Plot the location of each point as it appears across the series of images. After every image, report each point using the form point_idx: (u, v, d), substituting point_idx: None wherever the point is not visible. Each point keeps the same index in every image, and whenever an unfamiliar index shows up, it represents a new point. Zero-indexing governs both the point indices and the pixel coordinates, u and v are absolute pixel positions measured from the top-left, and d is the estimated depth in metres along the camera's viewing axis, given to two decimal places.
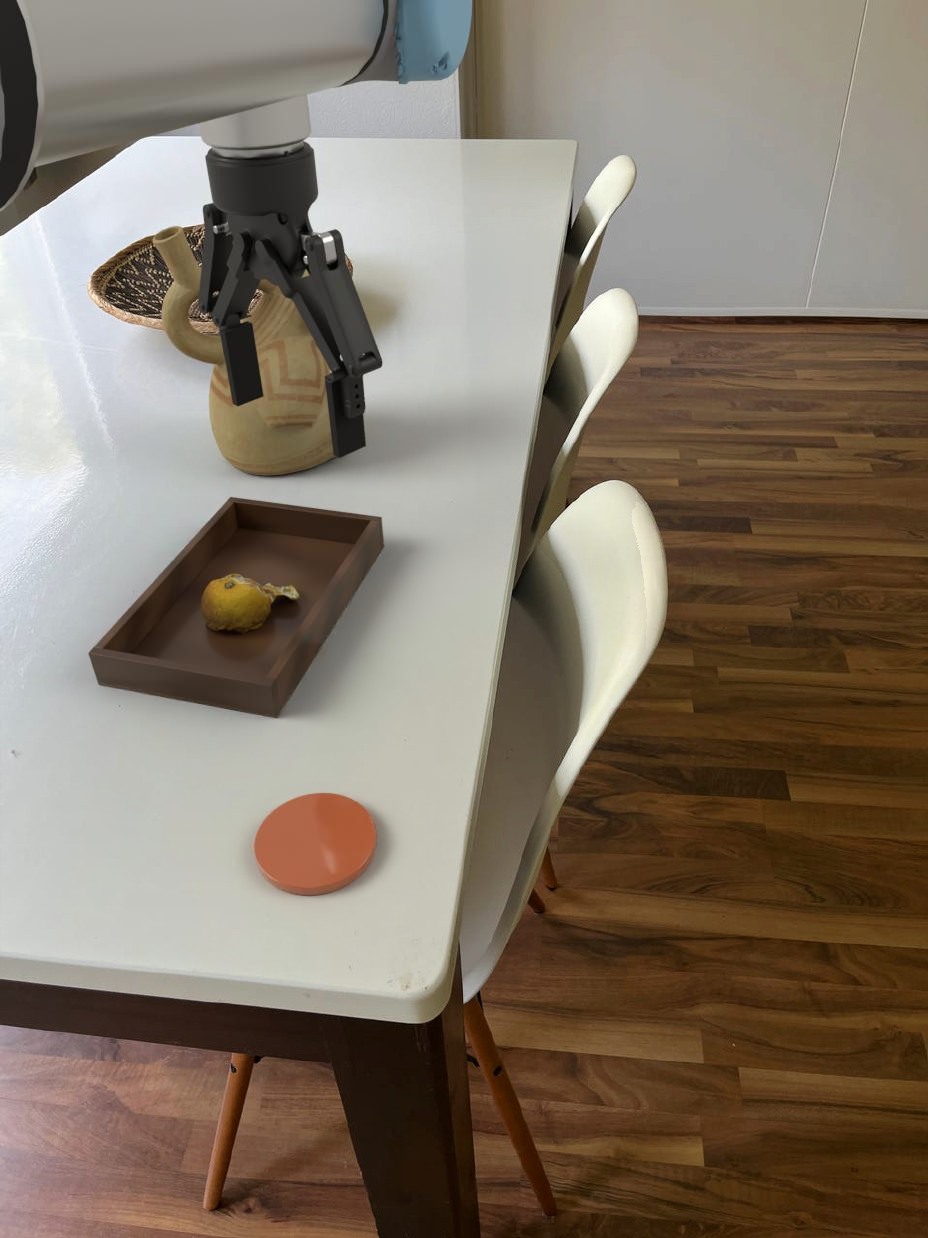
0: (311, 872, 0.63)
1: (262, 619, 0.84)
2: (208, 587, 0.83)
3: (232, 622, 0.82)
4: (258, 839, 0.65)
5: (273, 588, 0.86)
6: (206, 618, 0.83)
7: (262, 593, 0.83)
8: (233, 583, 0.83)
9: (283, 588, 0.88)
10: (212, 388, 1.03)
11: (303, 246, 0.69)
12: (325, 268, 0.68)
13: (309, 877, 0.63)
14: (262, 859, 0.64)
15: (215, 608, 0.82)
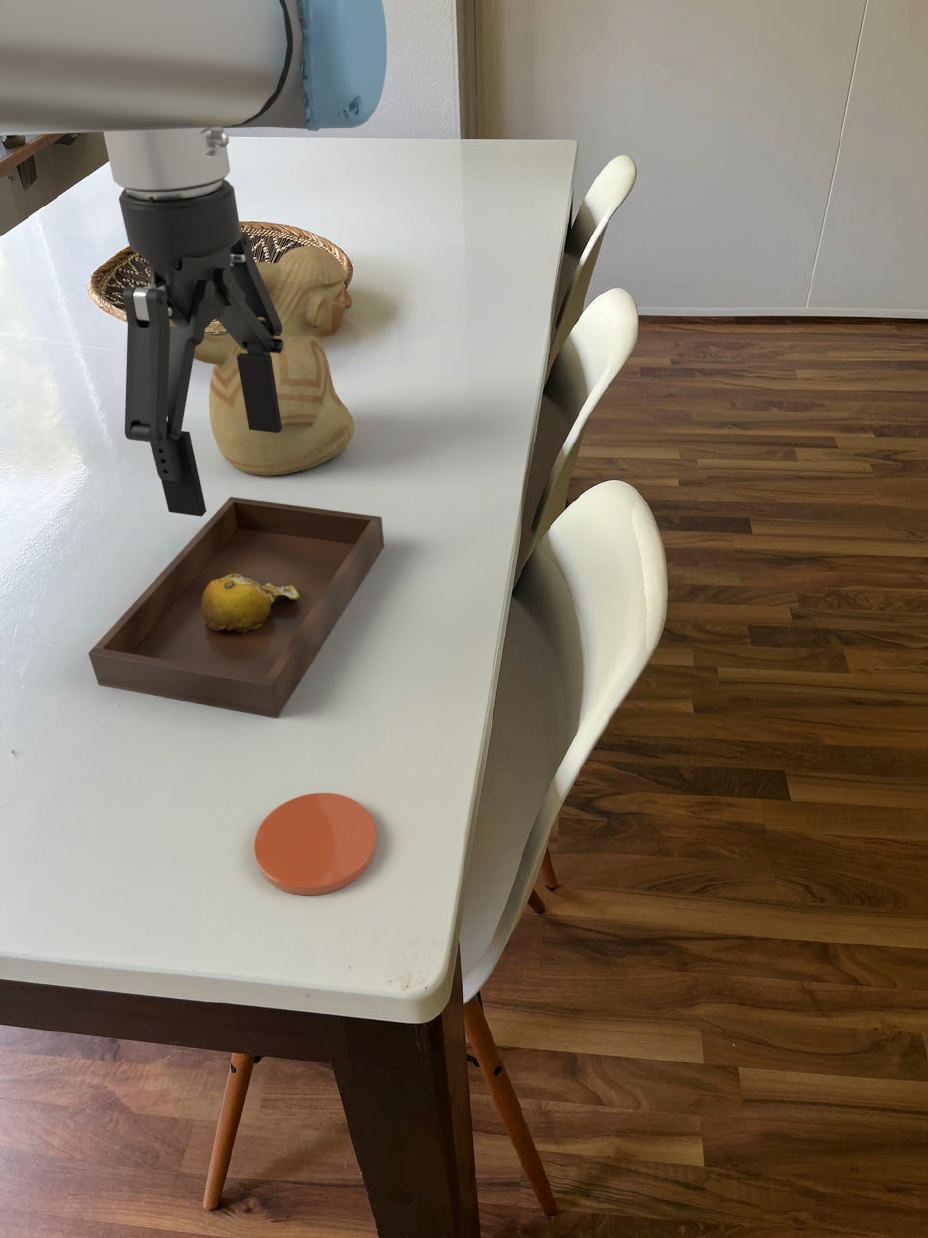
0: (311, 872, 0.63)
1: (262, 619, 0.84)
2: (208, 587, 0.83)
3: (232, 622, 0.82)
4: (258, 839, 0.65)
5: (273, 588, 0.86)
6: (206, 618, 0.83)
7: (262, 593, 0.83)
8: (233, 583, 0.83)
9: (283, 588, 0.88)
10: (212, 388, 1.03)
11: None
12: (134, 323, 0.64)
13: (309, 877, 0.63)
14: (262, 859, 0.64)
15: (215, 608, 0.82)
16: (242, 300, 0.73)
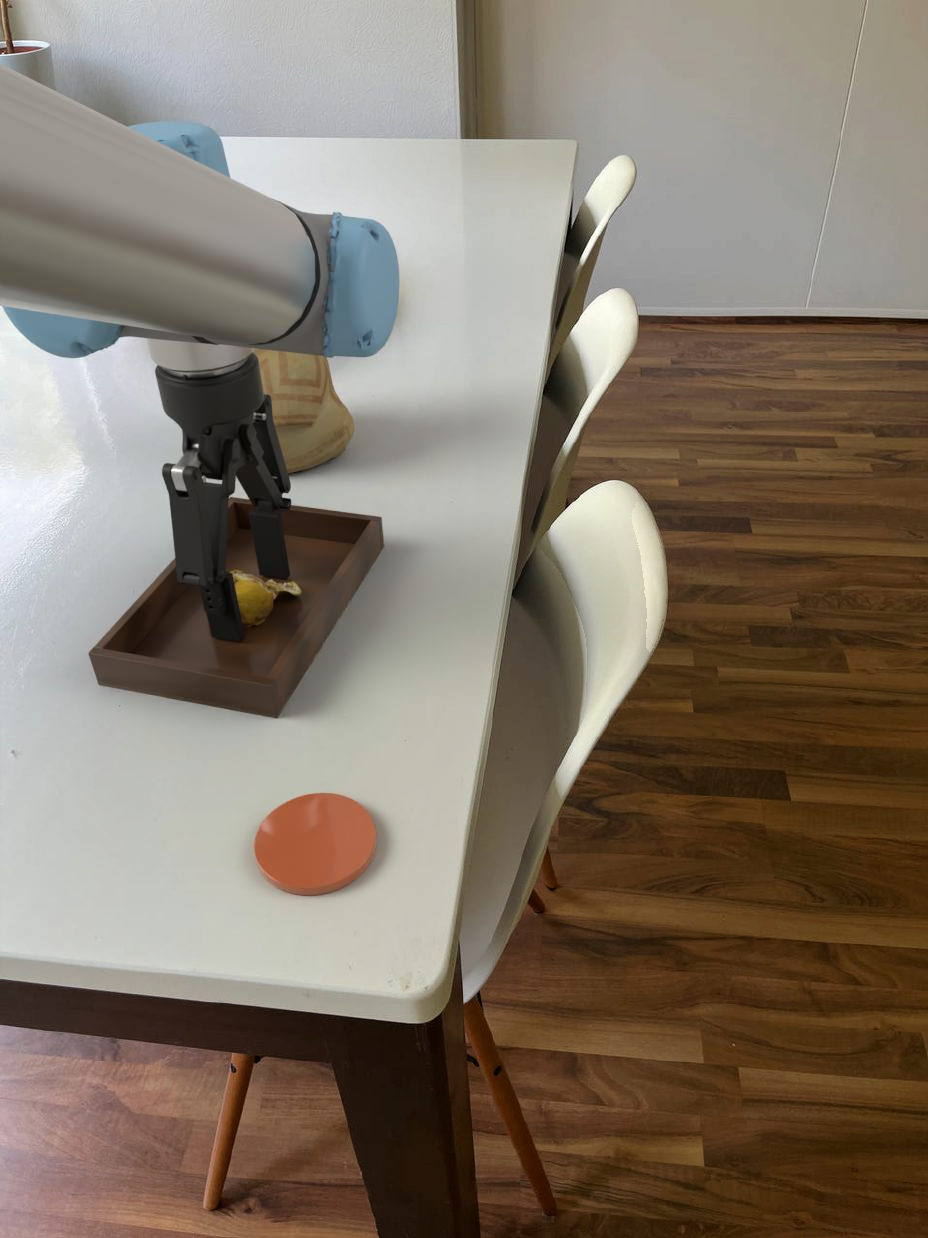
0: (311, 872, 0.63)
1: (265, 615, 0.84)
2: None
3: None
4: (258, 839, 0.65)
5: (275, 584, 0.87)
6: None
7: (265, 589, 0.84)
8: (236, 579, 0.83)
9: (285, 584, 0.88)
10: None
11: None
12: (174, 494, 0.72)
13: (309, 877, 0.63)
14: (262, 859, 0.64)
15: None
16: (261, 456, 0.80)
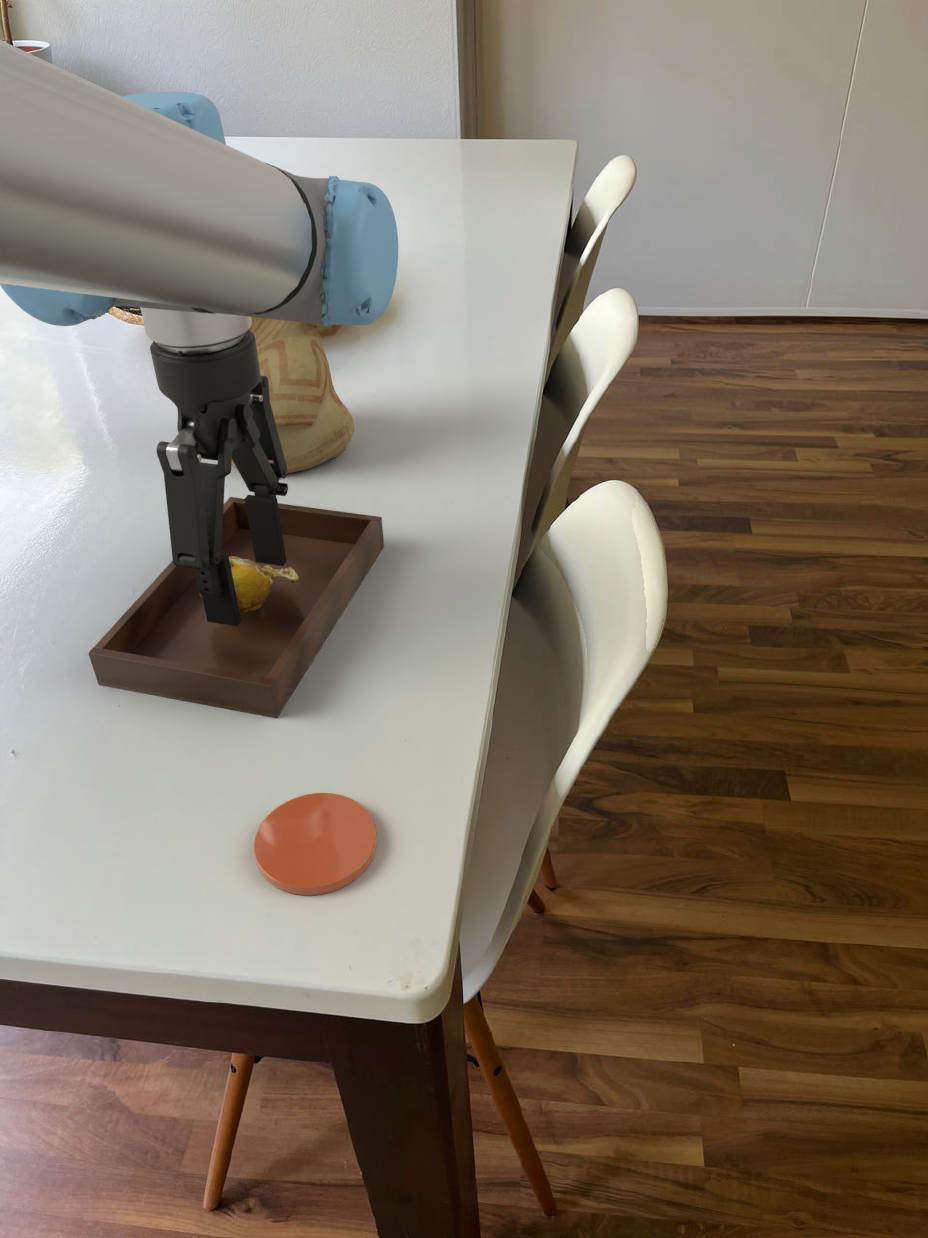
0: (311, 872, 0.63)
1: (261, 600, 0.83)
2: None
3: None
4: (258, 839, 0.65)
5: (272, 570, 0.86)
6: None
7: (261, 574, 0.83)
8: (232, 564, 0.82)
9: (282, 570, 0.87)
10: None
11: None
12: (169, 473, 0.71)
13: (309, 877, 0.63)
14: (262, 859, 0.64)
15: None
16: (257, 438, 0.79)
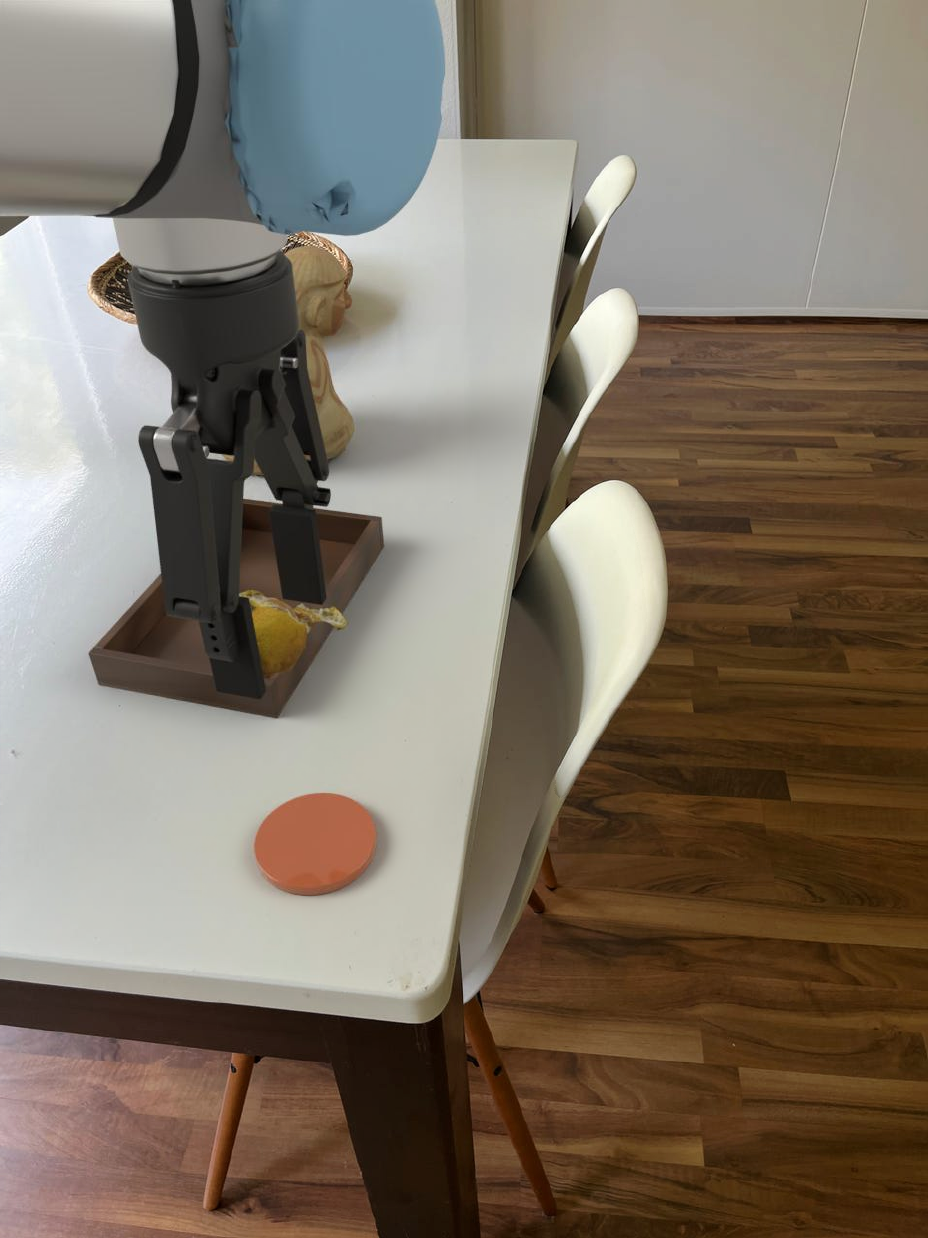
0: (311, 872, 0.63)
1: (295, 658, 0.57)
2: None
3: None
4: (258, 839, 0.65)
5: (309, 611, 0.60)
6: None
7: (295, 620, 0.57)
8: (252, 606, 0.56)
9: (322, 611, 0.61)
10: None
11: None
12: (159, 475, 0.45)
13: (309, 877, 0.63)
14: (262, 859, 0.64)
15: None
16: (290, 422, 0.53)
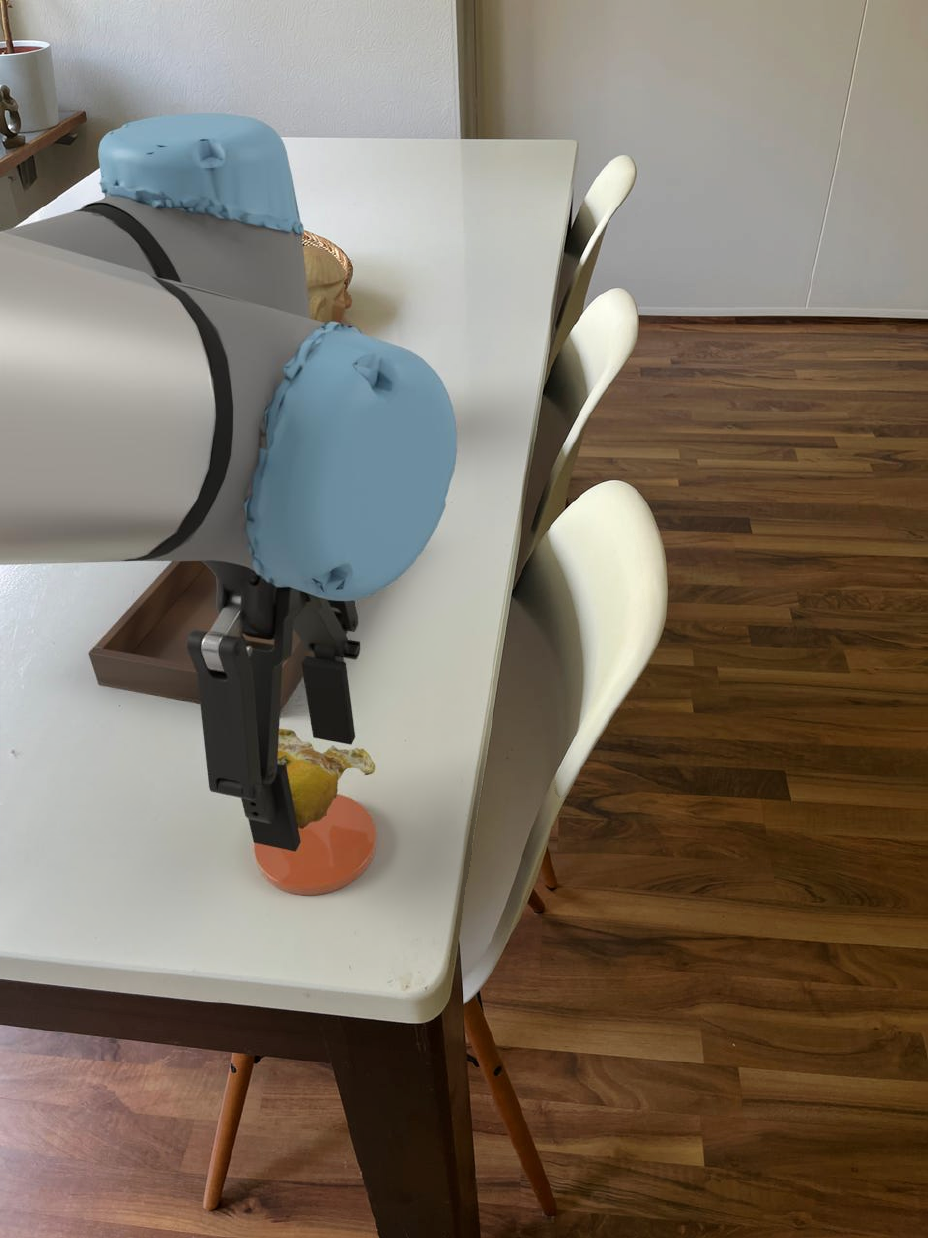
0: (311, 872, 0.63)
1: (327, 807, 0.60)
2: None
3: None
4: None
5: (339, 756, 0.63)
6: None
7: (327, 772, 0.60)
8: (287, 759, 0.59)
9: (351, 752, 0.64)
10: None
11: None
12: (206, 674, 0.48)
13: (309, 877, 0.63)
14: (262, 859, 0.64)
15: None
16: None
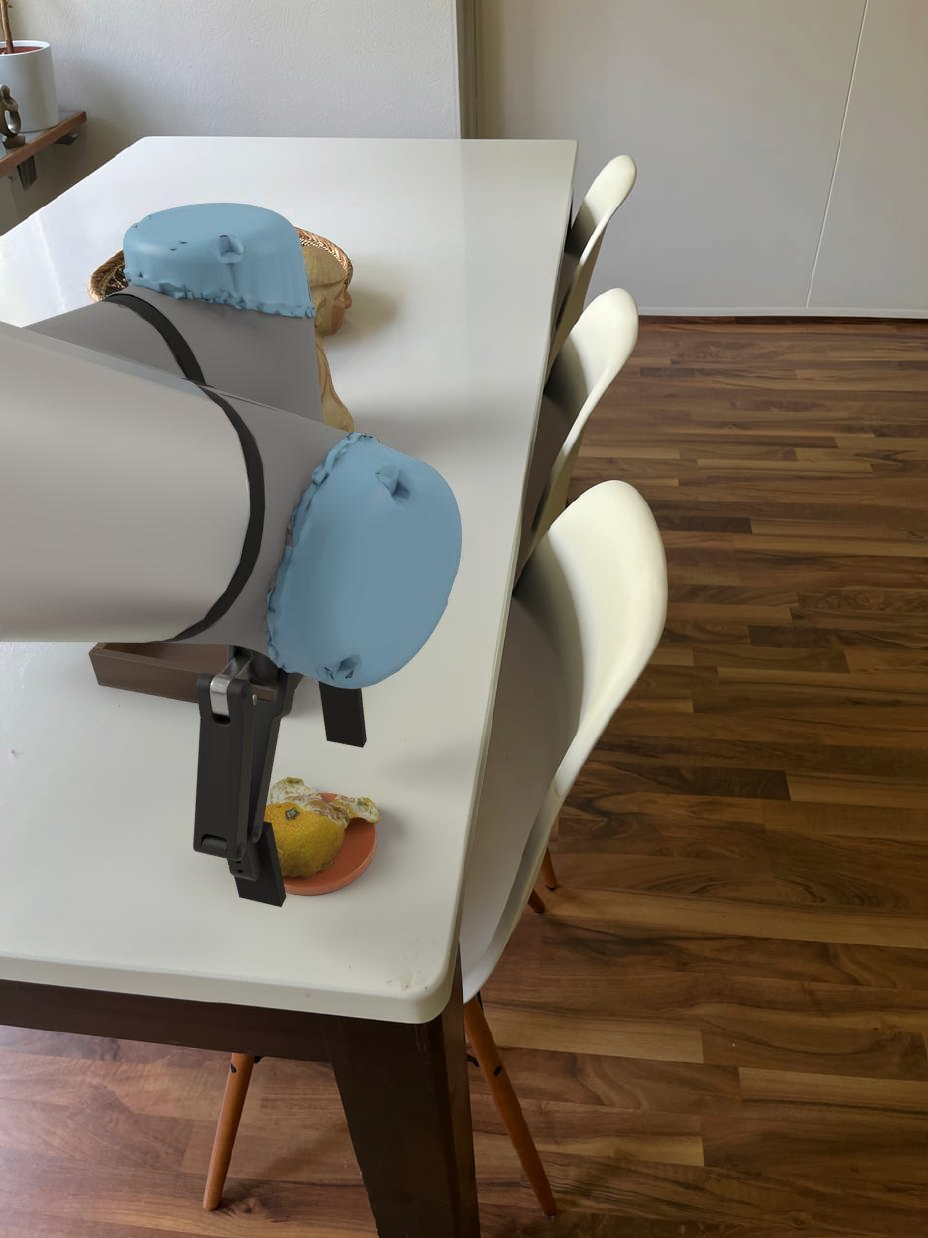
0: None
1: (334, 856, 0.63)
2: None
3: (296, 867, 0.61)
4: None
5: (346, 806, 0.66)
6: None
7: (335, 822, 0.63)
8: (296, 811, 0.62)
9: (357, 801, 0.67)
10: None
11: None
12: (209, 718, 0.49)
13: (309, 877, 0.63)
14: None
15: None
16: None
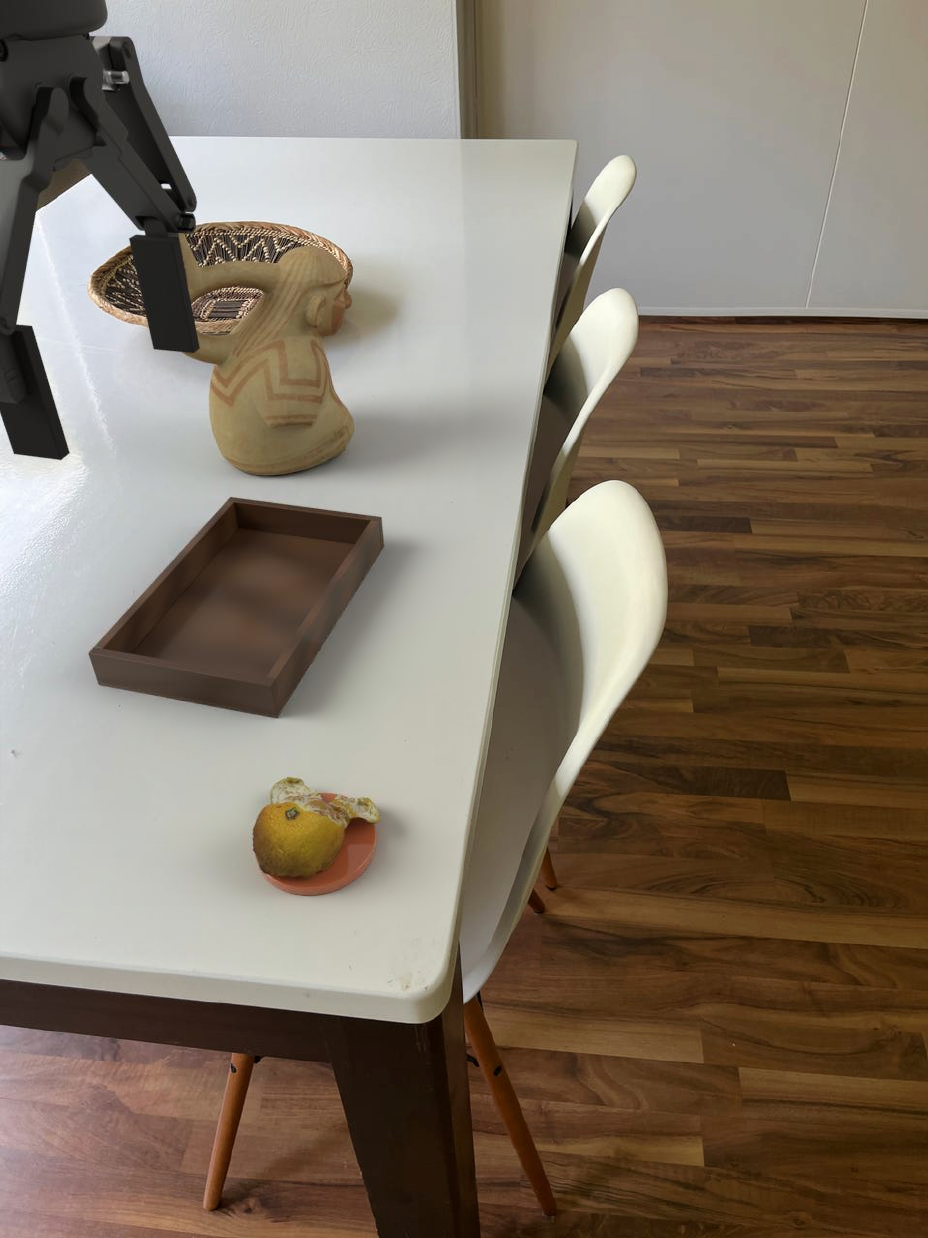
0: None
1: (334, 856, 0.63)
2: (263, 816, 0.62)
3: (296, 867, 0.61)
4: None
5: (346, 806, 0.66)
6: (261, 859, 0.62)
7: (335, 822, 0.63)
8: (296, 811, 0.62)
9: (357, 801, 0.67)
10: (212, 388, 1.03)
11: None
12: None
13: (309, 877, 0.63)
14: None
15: (274, 849, 0.61)
16: (123, 138, 0.49)
